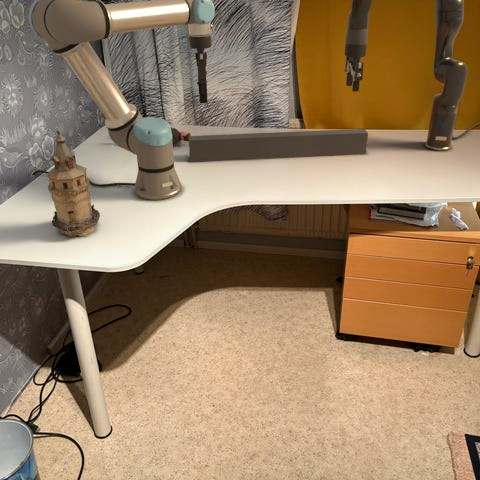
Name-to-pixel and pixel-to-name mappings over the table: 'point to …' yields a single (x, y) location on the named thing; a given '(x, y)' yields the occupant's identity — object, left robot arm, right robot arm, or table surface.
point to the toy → (179, 136)
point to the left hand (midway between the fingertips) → (203, 97)
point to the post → (277, 145)
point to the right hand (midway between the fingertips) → (352, 88)
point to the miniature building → (70, 193)
